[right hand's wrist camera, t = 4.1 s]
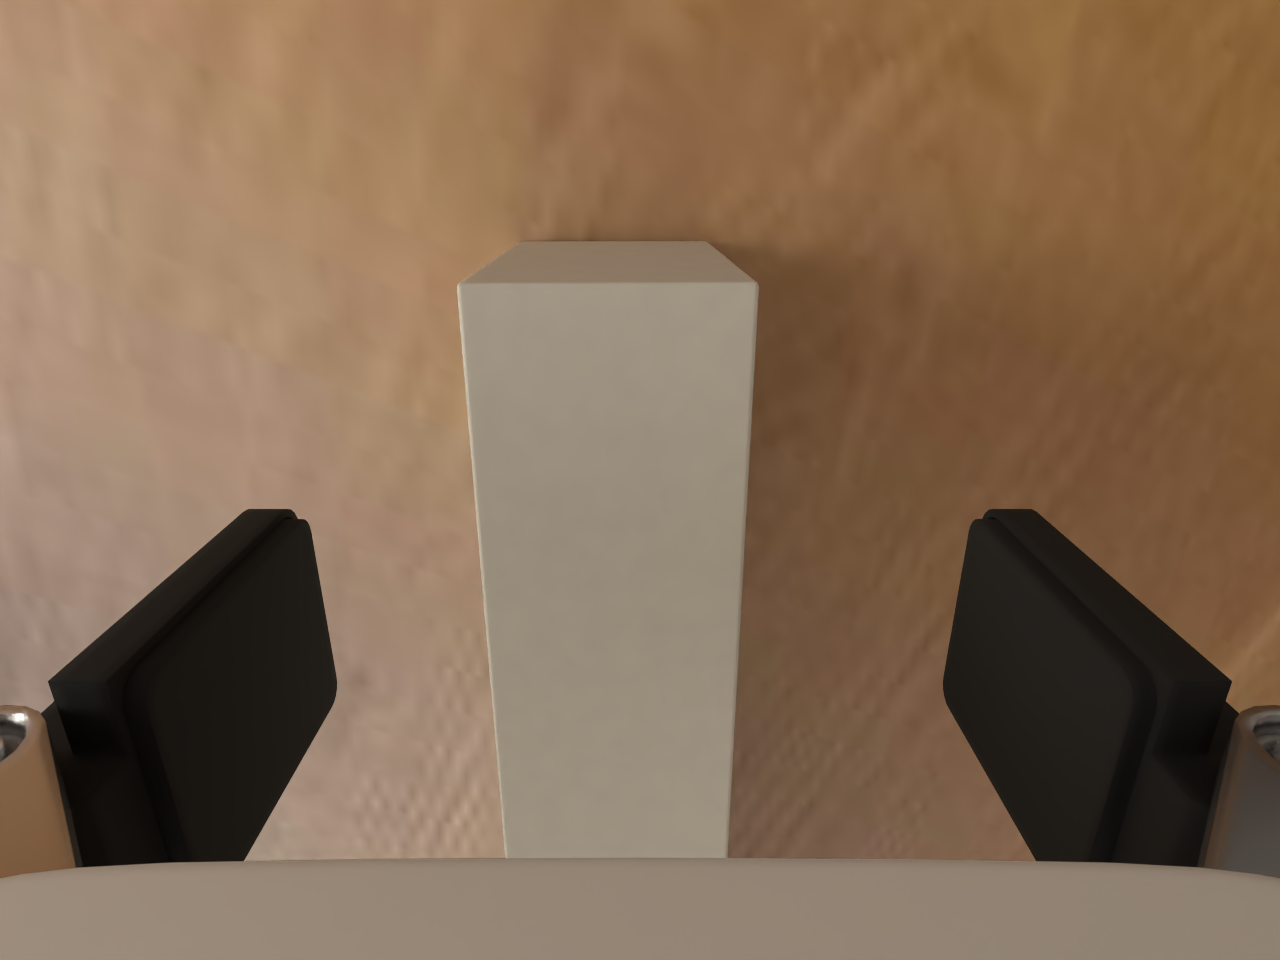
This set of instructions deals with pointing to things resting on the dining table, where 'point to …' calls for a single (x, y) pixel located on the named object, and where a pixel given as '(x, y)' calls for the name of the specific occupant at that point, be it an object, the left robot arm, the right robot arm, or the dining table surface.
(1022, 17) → the dining table surface
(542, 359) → the beam
